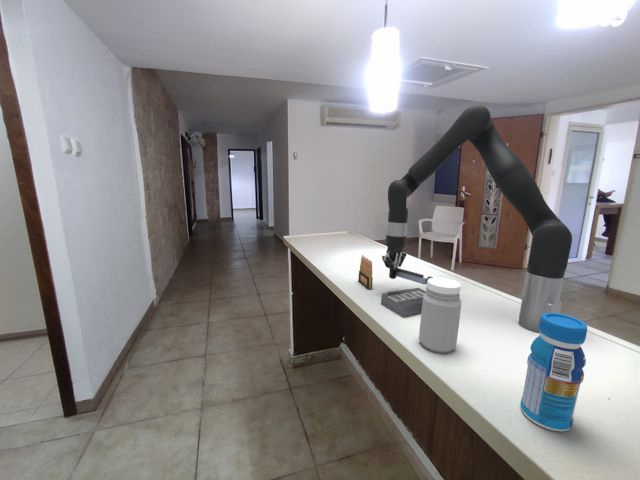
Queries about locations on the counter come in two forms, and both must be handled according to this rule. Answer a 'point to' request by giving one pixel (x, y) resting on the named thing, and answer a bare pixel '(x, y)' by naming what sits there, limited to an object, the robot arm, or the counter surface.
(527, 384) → the beverage bottle
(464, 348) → the counter surface
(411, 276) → the bar
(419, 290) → the grey block
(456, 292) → the jar
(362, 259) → the ammunition clip
